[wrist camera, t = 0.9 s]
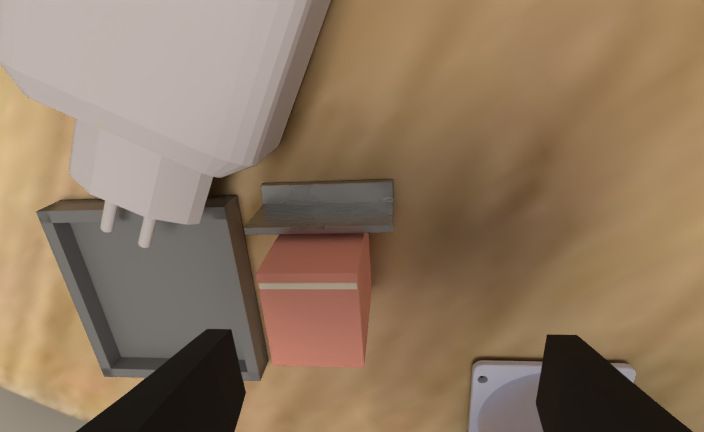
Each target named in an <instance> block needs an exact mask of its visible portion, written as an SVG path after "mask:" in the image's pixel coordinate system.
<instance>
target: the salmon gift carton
mask: <svg viewBox="0 0 704 432" xmlns="http://www.w3.org/2000/svg"><path fill="white" fill-rule="evenodd" d="M256 277H257V283H258V288H259V293H260V299H261V304H262V309H263V314H264V320H265V325H266V330H267V336H268V341H269V346H270V352H271V357H272V362H273V365H282V366H324V367H364V364H365V353H366V343H367V332H368V321H369V311H370V300H371V289H372V283H371V264H370V246H369V233H320V234H279V236H278V238H277V239H276V241H275V243H274V244H273V246H272V248H271V249H270V251H269V253H268V254H267V256H266V258H265V259H264V261H263V263H262V264H261V266H260V268H259V269H258V271H257V273H256Z"/></svg>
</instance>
